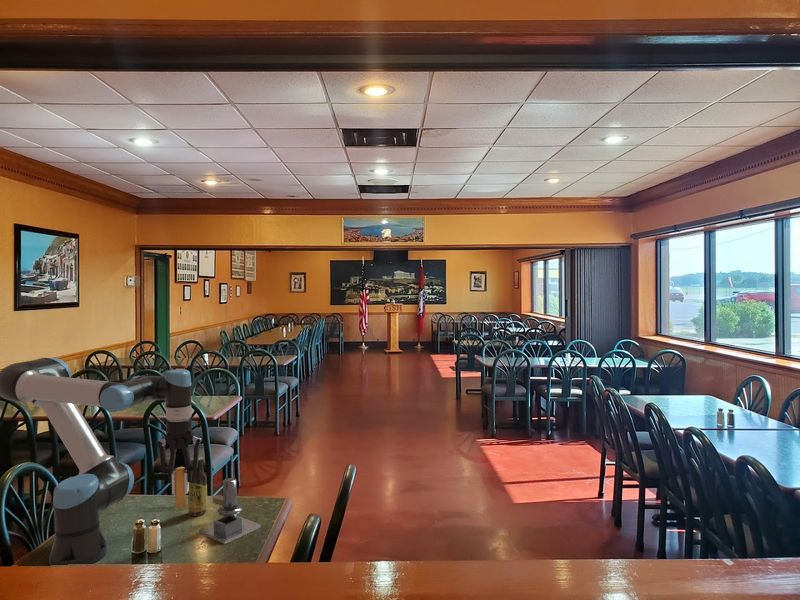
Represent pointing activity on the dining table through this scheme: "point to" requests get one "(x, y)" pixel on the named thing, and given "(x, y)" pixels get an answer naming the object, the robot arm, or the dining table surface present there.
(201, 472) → the sauce bottle
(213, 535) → the socket block fixture
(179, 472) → the orange cylinder
